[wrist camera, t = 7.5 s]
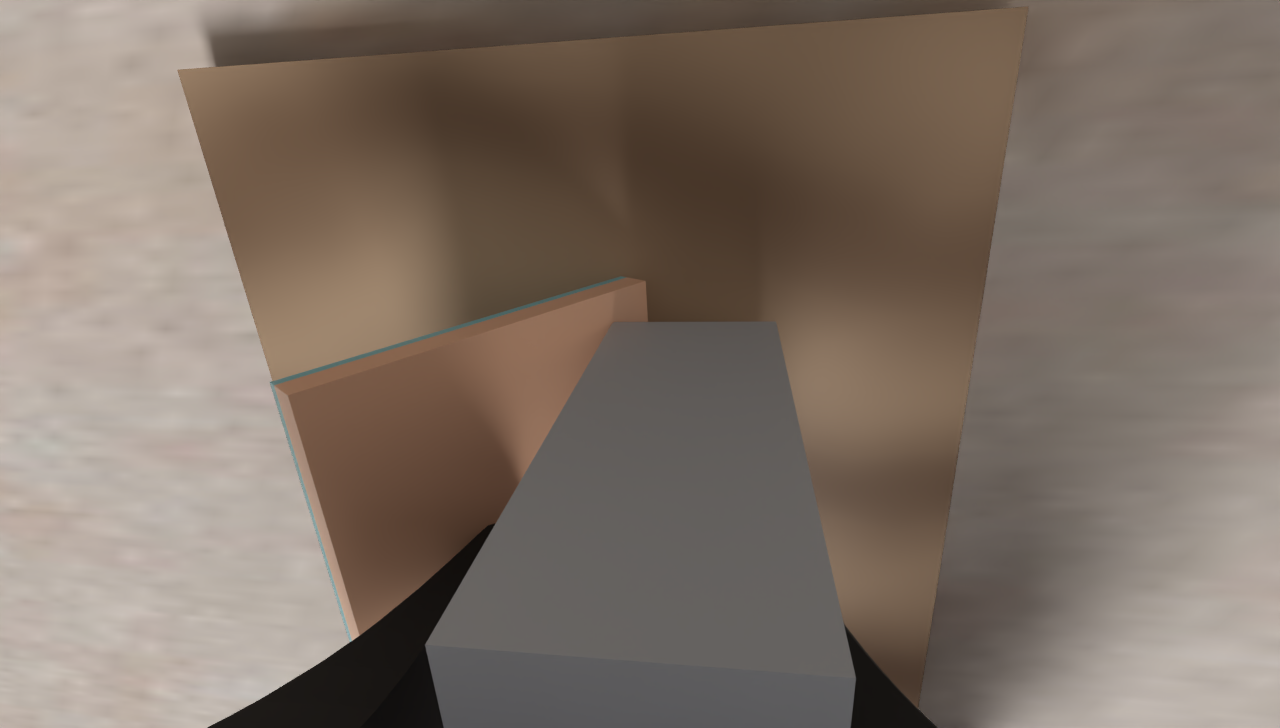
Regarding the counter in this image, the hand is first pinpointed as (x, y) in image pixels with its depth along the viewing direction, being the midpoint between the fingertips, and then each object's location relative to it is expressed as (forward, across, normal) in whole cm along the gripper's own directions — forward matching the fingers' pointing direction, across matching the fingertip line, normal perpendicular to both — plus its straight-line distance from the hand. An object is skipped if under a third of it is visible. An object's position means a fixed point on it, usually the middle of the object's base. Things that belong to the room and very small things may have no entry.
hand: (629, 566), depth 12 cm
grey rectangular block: (+3, -1, 0) cm, 3 cm away
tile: (+1, +2, 0) cm, 2 cm away
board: (+6, +1, 0) cm, 6 cm away
